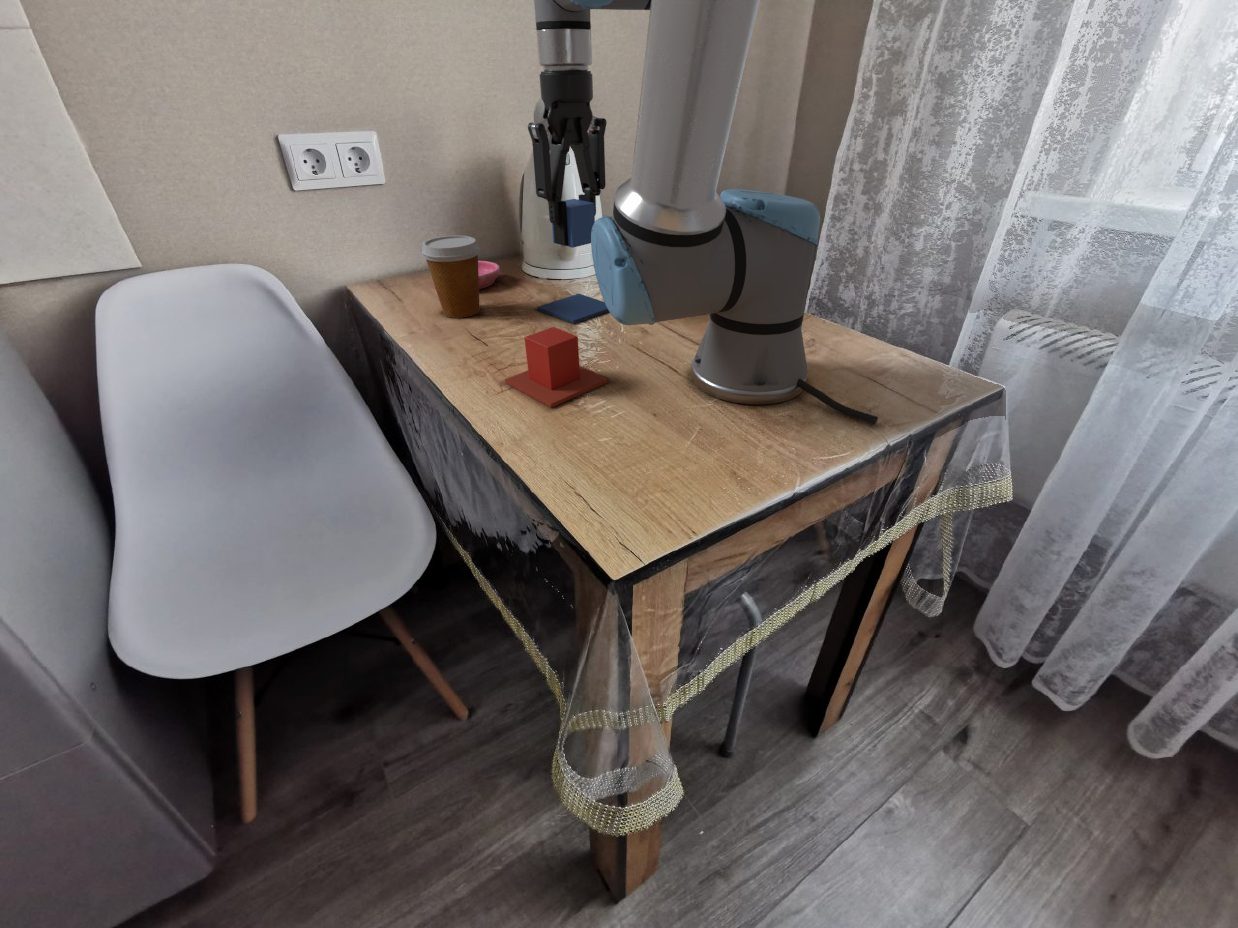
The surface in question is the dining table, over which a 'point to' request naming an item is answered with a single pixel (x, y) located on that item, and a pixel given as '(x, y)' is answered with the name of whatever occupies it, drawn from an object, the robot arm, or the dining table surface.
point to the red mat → (559, 394)
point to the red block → (552, 357)
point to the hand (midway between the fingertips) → (574, 240)
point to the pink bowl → (487, 273)
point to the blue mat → (575, 308)
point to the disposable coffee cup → (454, 273)
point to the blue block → (579, 222)
